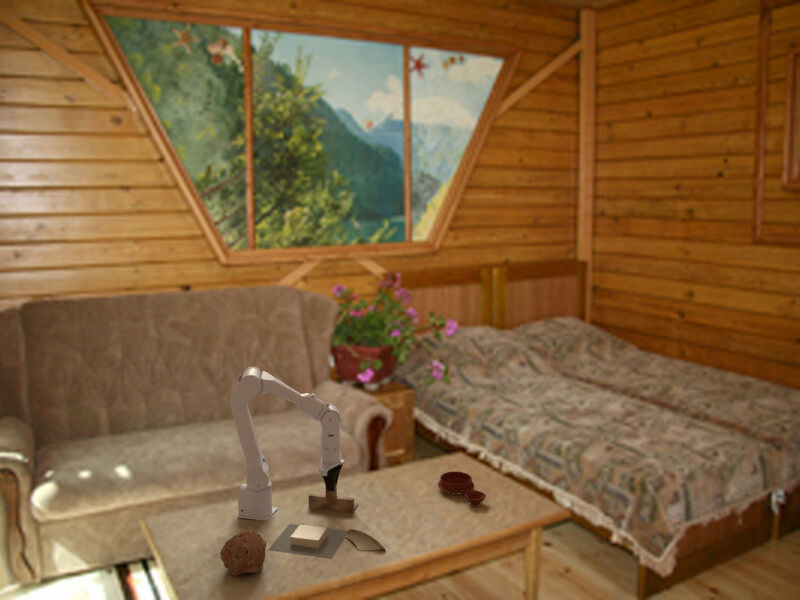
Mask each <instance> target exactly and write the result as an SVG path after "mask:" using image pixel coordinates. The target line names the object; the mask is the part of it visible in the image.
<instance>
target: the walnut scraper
mask: <svg viewBox="0 0 800 600" xmlns="http://www.w3.org/2000/svg"><path fill="white" fill-rule="evenodd" d="M324 485H325V484H324ZM337 485H338V483H337V484H335V489H334V491H327V489H326V485H325V494H320V493H309V494H308V495H307V496H308V509H314V510H323V511H324V510H325V511H332V512H343V513H351V514H354V512H355V511H356V509H357V508H358V506H359V503H358V502H357V503H356V502H355V498H354V497H349V496H348V497H346V496H339V495H338V493H337Z"/></svg>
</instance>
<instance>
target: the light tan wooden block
mask: <svg viewBox="0 0 800 600" xmlns="http://www.w3.org/2000/svg"><path fill="white" fill-rule="evenodd" d="M298 525H299V527H298V528H297V529H296V530H295V532H294V533H293V534H292V536H291V545H292V546H300V547H308V548H316V549H319V547H320V546H321V545H322V543H323V542H324V540H325V539H326V537H327V528H328V527H322V526H314V525H305V524H298Z"/></svg>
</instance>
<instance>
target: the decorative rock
mask: <svg viewBox="0 0 800 600" xmlns="http://www.w3.org/2000/svg"><path fill="white" fill-rule="evenodd" d="M266 548H267V541H266V540H265V538H263V537H262V536H261V534H260V533H258V531H255V530H253V529H248V530H245V531H243V530H241V531H239V533H238V534H235V535H234V536H232V537H231V538H230V539H229V538H228V540H226V541H225V543H224V545H223V546H222V548H221V549H220V552H219V553H220V557H219V558H220V559H221V562H222V563H223V566H224V568H226V569H227V570H228V571H229V572H230V574H232V576H239V575H242V574H243V575H244V574H250V573H251V574H255V573H260V572H261V571H262V570H263V568H264V563H265V559H266Z"/></svg>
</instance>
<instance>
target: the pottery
mask: <svg viewBox="0 0 800 600" xmlns="http://www.w3.org/2000/svg"><path fill="white" fill-rule="evenodd" d="M439 479H440V480H439V481H438V482H437V486H438V489H440V490H441V491H443V492H446V493H448V492H450V493H455V494H457V493H463V494H464V497H465V499H466V500H467V501H468V502H469V503H471V505H470V506H472V505H475V506H474V507H477V506H476V505H479V504H480V505H481V503H482V502H484V500H485V499H486V497H487V495H486V493H484V492H483V491H481V490H474V488H475V483H474V482H473V478H472V476H471V475H470V474H469V473H466V472H463V471H447V472H445V473H442V474H441V475H440V477H439ZM450 493H449V494H450ZM455 494H454V495H455ZM480 505H479V506H480Z"/></svg>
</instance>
